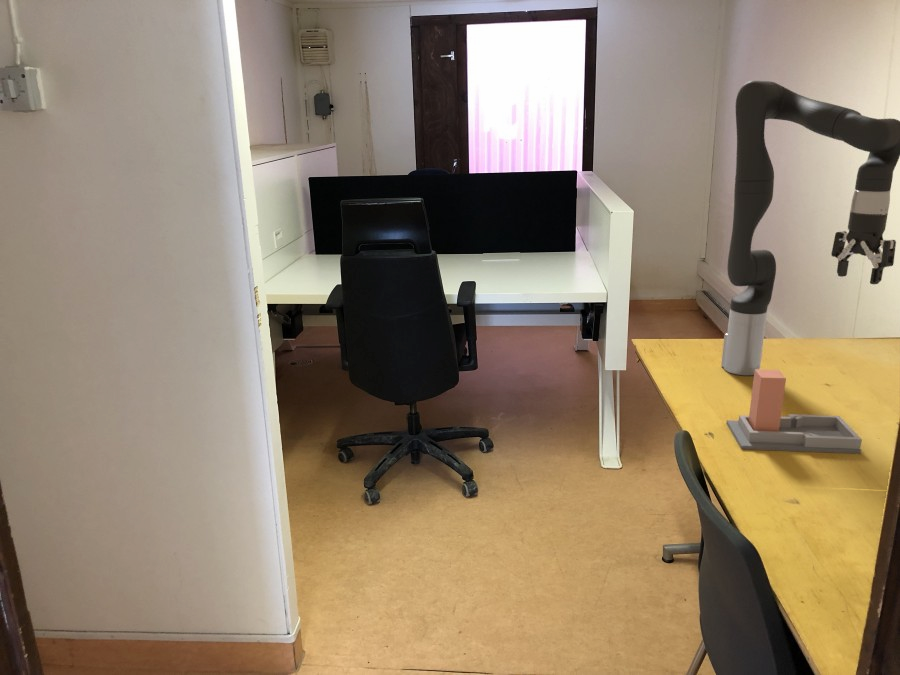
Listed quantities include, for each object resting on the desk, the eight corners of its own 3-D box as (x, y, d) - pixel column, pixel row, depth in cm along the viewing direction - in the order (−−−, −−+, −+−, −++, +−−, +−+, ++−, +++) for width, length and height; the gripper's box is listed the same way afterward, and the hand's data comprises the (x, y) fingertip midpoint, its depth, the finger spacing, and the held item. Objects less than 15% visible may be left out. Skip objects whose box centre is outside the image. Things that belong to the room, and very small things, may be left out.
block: (753, 437, 158) (761, 377, 154) (747, 428, 163) (754, 369, 158) (777, 438, 157) (786, 378, 153) (771, 428, 162) (778, 370, 158)
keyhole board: (836, 427, 164) (838, 414, 163) (860, 453, 152) (862, 440, 151) (726, 423, 167) (727, 411, 166) (741, 449, 155) (742, 436, 154)
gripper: (830, 207, 170) (820, 275, 175) (886, 215, 158) (874, 288, 163) (853, 205, 173) (843, 272, 178) (910, 213, 160) (897, 284, 165)
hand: (857, 279), depth 170 cm, fingers open, 8 cm apart
